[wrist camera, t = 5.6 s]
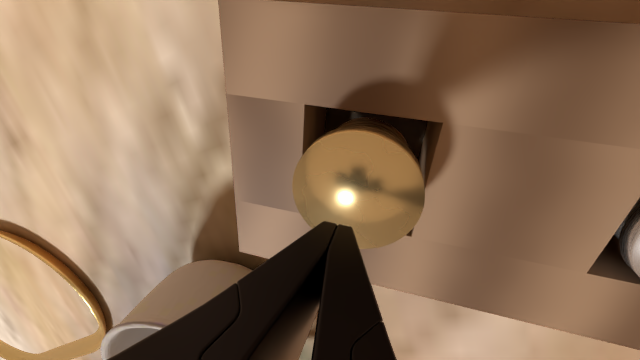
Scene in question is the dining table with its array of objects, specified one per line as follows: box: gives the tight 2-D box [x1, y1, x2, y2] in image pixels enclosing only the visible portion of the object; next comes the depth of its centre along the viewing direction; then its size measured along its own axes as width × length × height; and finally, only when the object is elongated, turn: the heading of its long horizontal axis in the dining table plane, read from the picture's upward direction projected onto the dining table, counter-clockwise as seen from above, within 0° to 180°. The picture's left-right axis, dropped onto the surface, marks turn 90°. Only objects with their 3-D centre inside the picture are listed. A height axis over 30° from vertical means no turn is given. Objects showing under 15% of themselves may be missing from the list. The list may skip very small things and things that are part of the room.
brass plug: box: [292, 118, 425, 249], centre depth 12 cm, size 5×5×3 cm
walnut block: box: [218, 0, 640, 350], centre depth 13 cm, size 24×12×4 cm, turn 85°
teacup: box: [101, 260, 252, 360], centre depth 21 cm, size 14×11×8 cm
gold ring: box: [0, 231, 106, 360], centre depth 37 cm, size 19×35×2 cm, turn 123°
